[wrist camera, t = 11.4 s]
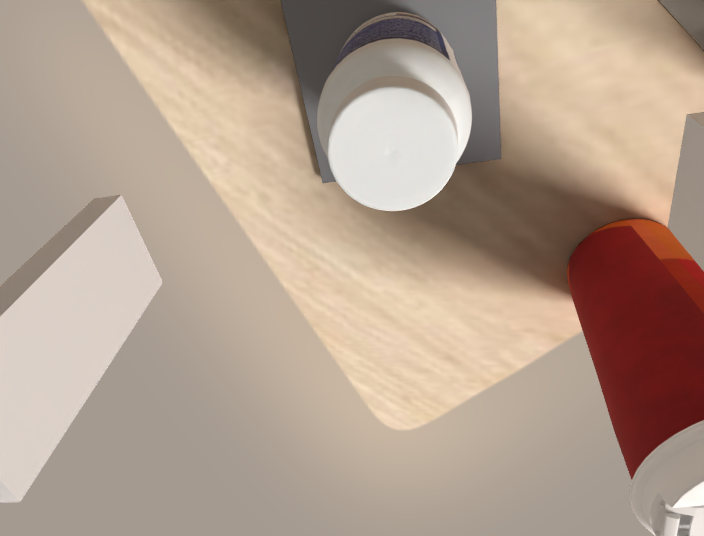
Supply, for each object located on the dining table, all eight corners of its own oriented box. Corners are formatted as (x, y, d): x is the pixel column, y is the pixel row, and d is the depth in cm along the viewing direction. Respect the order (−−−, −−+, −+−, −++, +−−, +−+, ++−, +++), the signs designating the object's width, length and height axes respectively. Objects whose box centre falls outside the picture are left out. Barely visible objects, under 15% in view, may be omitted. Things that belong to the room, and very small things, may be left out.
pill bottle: (312, 66, 24) (266, 141, 16) (406, -19, 22) (408, 15, 14) (386, 154, 26) (378, 260, 18) (478, 84, 24) (517, 167, 16)
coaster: (281, -11, 23) (278, -10, 22) (492, -54, 21) (494, -54, 21) (324, 178, 28) (322, 183, 27) (499, 154, 26) (501, 158, 26)
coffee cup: (547, 331, 32) (637, 592, 20) (542, 212, 28) (653, 451, 15) (698, 313, 30) (901, 587, 18) (717, 184, 26) (1004, 427, 14)
